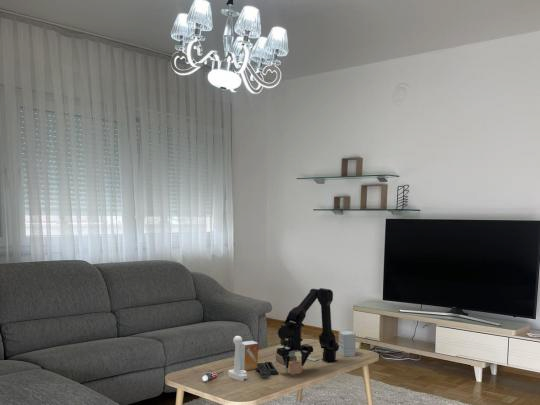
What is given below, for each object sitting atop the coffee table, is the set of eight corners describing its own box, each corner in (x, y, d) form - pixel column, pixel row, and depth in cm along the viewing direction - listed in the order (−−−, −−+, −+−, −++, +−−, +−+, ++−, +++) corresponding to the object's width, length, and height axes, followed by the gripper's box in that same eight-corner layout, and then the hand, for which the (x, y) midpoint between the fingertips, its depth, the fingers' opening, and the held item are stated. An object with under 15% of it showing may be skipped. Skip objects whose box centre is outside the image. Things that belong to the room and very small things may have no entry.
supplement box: (349, 352, 287) (350, 330, 288) (355, 356, 280) (355, 333, 280) (338, 353, 285) (338, 331, 286) (343, 356, 278) (343, 334, 278)
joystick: (226, 375, 242) (227, 334, 242) (238, 372, 247) (239, 331, 247) (240, 381, 234) (241, 338, 234) (252, 378, 238) (253, 336, 239)
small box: (244, 371, 249) (245, 345, 249) (238, 367, 254) (238, 342, 255) (257, 368, 254) (258, 343, 254) (251, 365, 259) (252, 340, 259)
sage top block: (287, 352, 271) (288, 345, 271) (294, 356, 265) (295, 348, 265) (276, 354, 267) (277, 346, 267) (283, 357, 261) (284, 350, 261)
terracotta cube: (295, 370, 253) (296, 360, 253) (301, 373, 248) (301, 363, 248) (287, 371, 250) (287, 361, 250) (293, 374, 246) (293, 364, 246)
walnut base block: (288, 359, 271) (288, 352, 271) (296, 364, 264) (296, 356, 264) (275, 361, 267) (275, 354, 267) (283, 366, 260) (283, 358, 260)
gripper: (301, 330, 261) (301, 360, 261) (271, 334, 252) (270, 365, 252) (314, 335, 252) (313, 366, 251) (283, 339, 242) (282, 371, 242)
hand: (294, 367), depth 249 cm, fingers open, 9 cm apart
